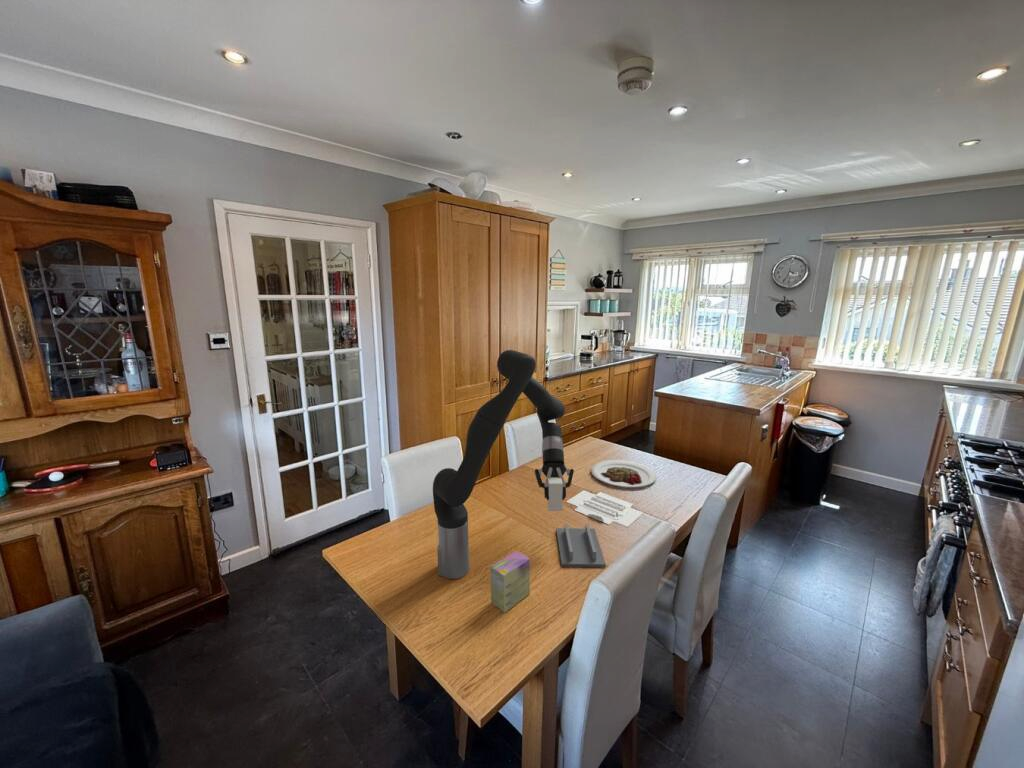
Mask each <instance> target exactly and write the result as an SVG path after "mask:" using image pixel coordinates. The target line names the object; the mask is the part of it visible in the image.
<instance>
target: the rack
mask: <svg viewBox="0 0 1024 768" xmlns="http://www.w3.org/2000/svg"><path fill="white" fill-rule="evenodd" d="M584 526H585V527H584V528H576V527H575V528H569V526H568V523H564V528H562V527H559V528H558V527H557V528H555V530H556V537H557V544H558V545H557V546H558V550H559V557H560V564H561V565H560V566H561V567H562V568H563V567H564V568H565V567H567V568H576V567H577V568H606V566H607V565H606V564H607V563H606V561H605V557H604V555H603V551H602V549H601V545H600V542H599V538H598V535H597V532H596V530H595V528H590V525H589V524H587V523H585V525H584Z"/></svg>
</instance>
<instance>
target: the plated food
mask: <svg viewBox="0 0 1024 768" xmlns="http://www.w3.org/2000/svg"><path fill="white" fill-rule="evenodd" d="M590 470H591V474H592V475H593V477H594V478H595V479H597V480H599V481H600V482H603V483H605V484H608V485H610V486H614V487H621V488H630V489H631V488H633V489H635V488H643V487H646V486H649V485H652V484H653V483H655V482H656V480H657V474H656V472H655V471H654V470H653V469H652V468H651V467H650V466H649V467H648V466H646V465H645V464H642V463H639V462H636V461H632V460H625V459H606V460H602V461H599V462H596V463H595V464H593V465H592V467H591V469H590Z"/></svg>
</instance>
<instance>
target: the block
mask: <svg viewBox="0 0 1024 768" xmlns="http://www.w3.org/2000/svg"><path fill="white" fill-rule="evenodd" d="M562 489H563V483H562V479H561V478H559V477H550V478H548V490H549V500H547V509H548V512H562V511H563V500H562Z"/></svg>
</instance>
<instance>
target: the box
mask: <svg viewBox="0 0 1024 768" xmlns="http://www.w3.org/2000/svg"><path fill="white" fill-rule="evenodd" d="M530 559H531V558H530V557H528V556H526V555H525V554H523V553H521V552H520V551H518V550H515V551H513V552H511V553H509V554H508V555H507V556H505V557H504V558H502V559H500V560H498V561H497V562H495V563H494V564H492V565H490V595H491V596H490V603H491V604H492V605H493V606H495V607H496V608H498V609H499V610H500V611H501V612H503V613H506V612H507V611H509V610H510V609H512V608H513V607H515V605H517V604H518V603H519V602H521V601H522V600H524V599H525V598H526V597H528V596H530V593H531V592H530V591H531V590H530V589H531V587H530V586H531V581H530V580H531V578H530V577H531V575H530V571H531V564H530V563H531V561H530Z"/></svg>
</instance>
